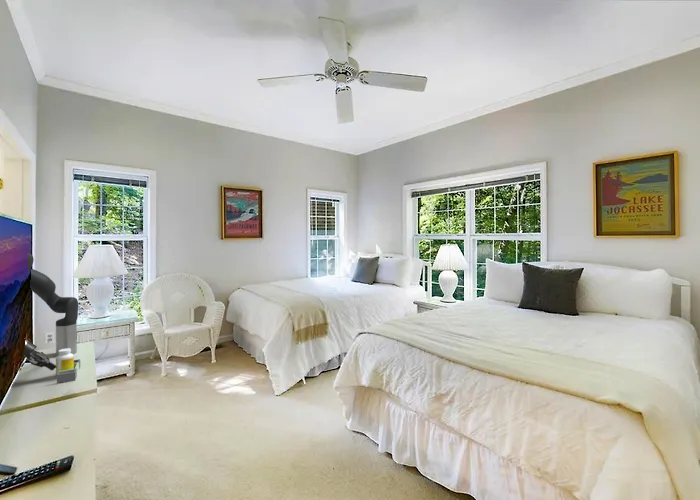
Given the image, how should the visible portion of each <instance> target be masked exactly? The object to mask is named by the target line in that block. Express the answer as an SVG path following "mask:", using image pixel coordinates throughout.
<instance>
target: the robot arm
mask: <svg viewBox="0 0 700 500" xmlns="http://www.w3.org/2000/svg"><path fill="white" fill-rule="evenodd" d="M34 260H35V259H34V256H33V254H32V253H30V252H28V271H29V269H30V268H32V266H33V264H34ZM56 287H57V285H56V283H55V282H54V281H53V280H52V279H51V278H50V277H49V276H48V275H47V274H45V273H43V272H41V271H38V270H36V269H34V268H32V269H31V280H30V288H31V289H30V291H32V292H33V293H34V294H35V295H37V296H38V298H41V300H42V301H43V302H44V303H45V304H46V305H47V306H48V308H50V309H51V310H52V312H54V313H55V314H64V317H62V318H59V319H57V320H56V321H55V356H56V357H57V356H58V355H59V353H58V352H59V350H61V349H66V348H70V349H71V352H70V353H71V354H73V355H74V354H77V352H78V351H77V350H78V347H77V346H78V345H77V344H78V343H77V342H78V341H77V340H78V339H77V335H78V334H77V333H78V332H77V329H78V328H77V321H78V317H79V300H78V299H77V298H76V297H73V296H64V297H62V296H59V295H58V294H57V293H56V289H57V288H56ZM36 349H37V345H36V344H34V343H33V342H31V341H29V340H27V339H26V340H25V351H24V355H25V358H26V359H28V361H29V362H30V364H31V365H33V366H37V367H40V368H47V369H49V370H50V371H54V370H56V364H54V363H52V362H51V361H50V358H49V357H48V356H47V355H46V354H45V353H44V352H43V351H37V350H36Z"/></svg>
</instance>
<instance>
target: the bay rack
mask: <svg viewBox="0 0 700 500" xmlns="http://www.w3.org/2000/svg"><path fill="white" fill-rule="evenodd" d="M80 369H81V359H74V369H69V370H63V371H59V374H58V375H57V377H56V381H57V382H56V383H57V384H63V383H68V382H74V381H76V380H77V377H78V374H79V373H80V372H79V371H80Z"/></svg>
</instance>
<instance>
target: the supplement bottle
mask: <svg viewBox="0 0 700 500" xmlns="http://www.w3.org/2000/svg"><path fill="white" fill-rule="evenodd" d="M70 352H71V349H70V348H66V349H61V350H59V352H58V353H59V355H58V356H56V357H55V365H56V368H55V376H56V378H57V375H58V374H59V371H63V370H69V369H74V360H75V359H74V358H75V357H74V354H71V353H70Z"/></svg>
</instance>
